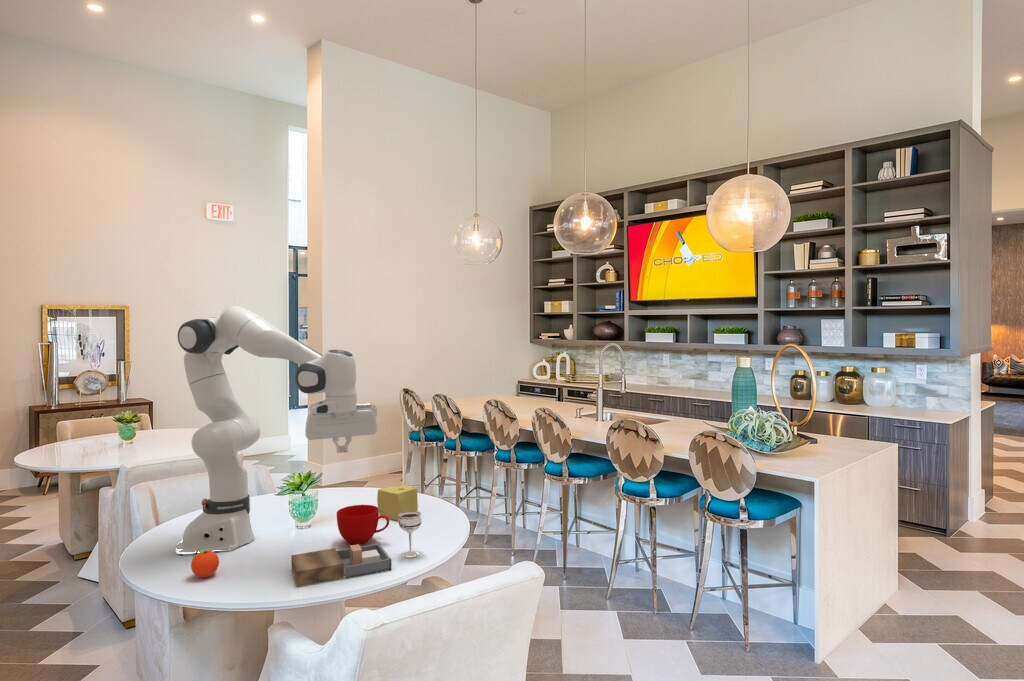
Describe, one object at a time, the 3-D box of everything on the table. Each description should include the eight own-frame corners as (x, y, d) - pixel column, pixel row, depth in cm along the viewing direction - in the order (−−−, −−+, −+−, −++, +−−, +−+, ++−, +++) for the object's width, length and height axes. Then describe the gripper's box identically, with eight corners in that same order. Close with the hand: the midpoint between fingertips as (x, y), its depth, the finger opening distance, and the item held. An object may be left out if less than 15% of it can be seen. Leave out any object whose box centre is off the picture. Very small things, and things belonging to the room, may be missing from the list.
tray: (346, 578, 165) (345, 567, 165) (336, 560, 178) (336, 550, 177) (391, 569, 170) (391, 559, 170) (379, 553, 183) (379, 543, 183)
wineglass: (402, 549, 186) (401, 510, 185) (424, 550, 185) (423, 511, 185) (396, 558, 179) (395, 517, 179) (418, 558, 178) (418, 517, 178)
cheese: (398, 509, 227) (398, 483, 227) (419, 514, 221) (419, 487, 221) (377, 517, 219) (376, 489, 219) (398, 522, 213) (397, 493, 213)
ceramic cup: (381, 551, 185) (380, 518, 185) (329, 548, 188) (328, 515, 188) (397, 536, 198) (396, 506, 197) (348, 534, 201) (348, 503, 201)
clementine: (182, 579, 166) (181, 553, 166) (203, 569, 173) (202, 544, 172) (204, 583, 163) (204, 556, 163) (225, 573, 170) (224, 547, 170)
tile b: (352, 551, 170) (361, 549, 171) (349, 545, 174) (358, 544, 175) (353, 569, 170) (362, 567, 171) (350, 562, 175) (358, 561, 176)
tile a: (379, 555, 173) (380, 563, 174) (375, 549, 178) (376, 558, 178) (362, 558, 171) (362, 567, 171) (358, 552, 176) (358, 561, 176)
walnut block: (297, 586, 160) (296, 571, 160) (291, 569, 172) (291, 555, 172) (343, 578, 165) (343, 563, 165) (335, 561, 177) (335, 548, 177)
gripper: (374, 401, 187) (375, 446, 187) (303, 406, 178) (304, 453, 178) (379, 403, 181) (380, 450, 181) (306, 408, 172) (307, 457, 173)
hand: (342, 452), depth 180 cm, fingers closed
